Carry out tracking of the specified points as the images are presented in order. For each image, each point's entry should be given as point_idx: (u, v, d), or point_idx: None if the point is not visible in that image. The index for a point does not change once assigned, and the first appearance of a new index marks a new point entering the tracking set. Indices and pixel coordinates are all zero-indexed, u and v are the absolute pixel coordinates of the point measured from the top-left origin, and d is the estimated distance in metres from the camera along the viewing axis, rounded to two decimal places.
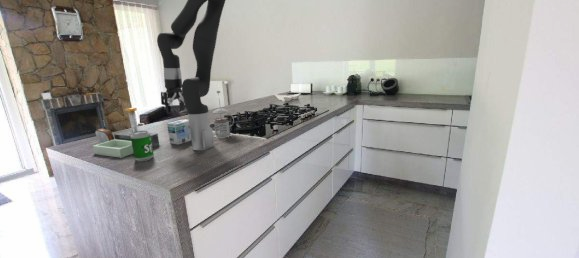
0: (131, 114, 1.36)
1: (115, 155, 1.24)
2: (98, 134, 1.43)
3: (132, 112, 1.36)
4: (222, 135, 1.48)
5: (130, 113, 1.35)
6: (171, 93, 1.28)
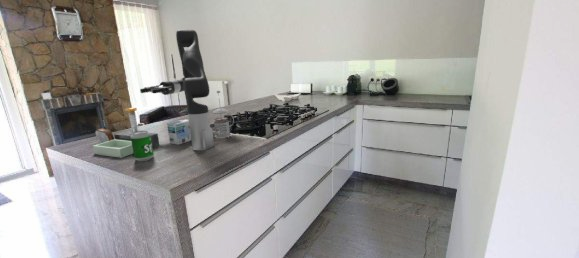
0: (131, 114, 1.36)
1: (115, 155, 1.24)
2: (98, 134, 1.43)
3: (132, 112, 1.36)
4: (222, 135, 1.48)
5: (130, 113, 1.35)
6: None
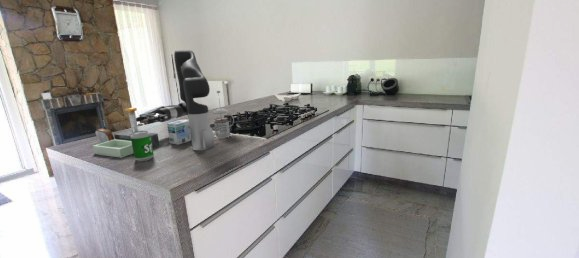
0: (131, 114, 1.36)
1: (115, 155, 1.24)
2: (98, 134, 1.43)
3: (132, 112, 1.36)
4: (222, 135, 1.48)
5: (130, 113, 1.35)
6: None
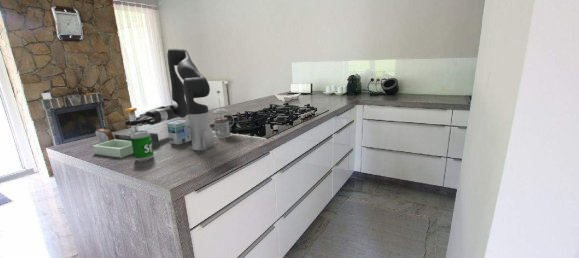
0: (131, 114, 1.36)
1: (115, 155, 1.24)
2: (98, 134, 1.43)
3: (132, 112, 1.36)
4: (222, 135, 1.48)
5: (130, 113, 1.35)
6: None
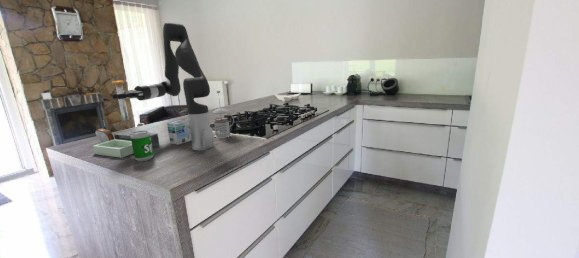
0: (118, 87, 1.29)
1: (115, 155, 1.24)
2: (98, 134, 1.43)
3: (119, 84, 1.29)
4: (222, 135, 1.48)
5: (117, 85, 1.28)
6: (129, 91, 1.38)
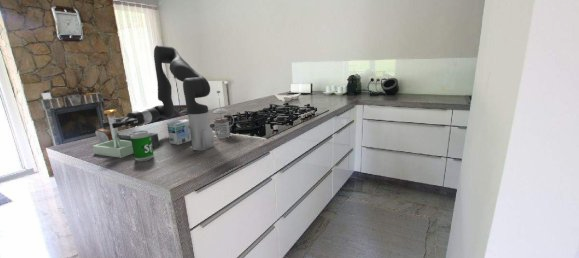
0: (110, 116, 1.26)
1: (115, 155, 1.24)
2: (98, 134, 1.43)
3: (111, 114, 1.26)
4: (222, 135, 1.48)
5: (109, 115, 1.26)
6: None
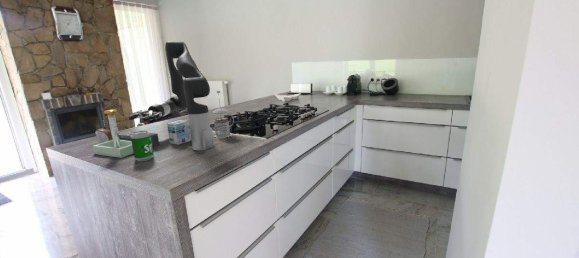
0: (110, 116, 1.26)
1: (115, 155, 1.24)
2: (98, 134, 1.43)
3: (111, 114, 1.26)
4: (222, 135, 1.48)
5: (109, 115, 1.26)
6: None
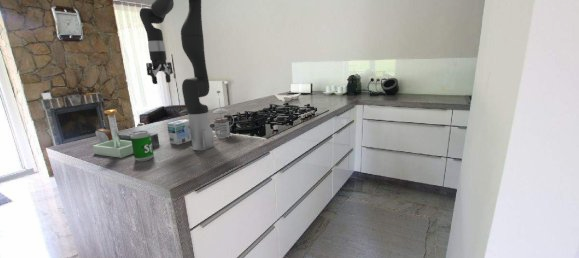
0: (110, 116, 1.26)
1: (115, 155, 1.24)
2: (98, 134, 1.43)
3: (111, 114, 1.26)
4: (222, 135, 1.48)
5: (109, 115, 1.26)
6: (156, 64, 1.38)
